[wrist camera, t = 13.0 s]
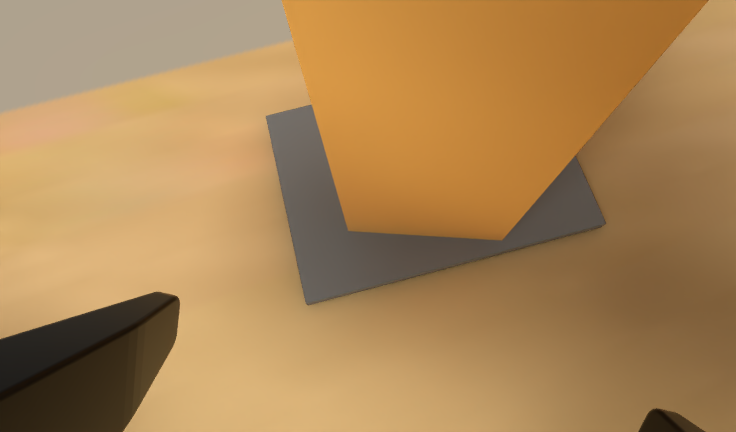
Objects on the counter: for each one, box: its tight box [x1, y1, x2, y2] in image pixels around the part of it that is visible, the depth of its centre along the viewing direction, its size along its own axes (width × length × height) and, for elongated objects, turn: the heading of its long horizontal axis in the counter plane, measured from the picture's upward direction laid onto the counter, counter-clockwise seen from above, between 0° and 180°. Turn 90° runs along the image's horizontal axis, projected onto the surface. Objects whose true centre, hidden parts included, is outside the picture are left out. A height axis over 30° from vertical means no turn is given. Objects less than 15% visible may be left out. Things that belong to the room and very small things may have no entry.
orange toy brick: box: [282, 0, 709, 241], centre depth 12 cm, size 6×6×14 cm
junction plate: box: [266, 105, 606, 305], centre depth 17 cm, size 12×8×5 cm
